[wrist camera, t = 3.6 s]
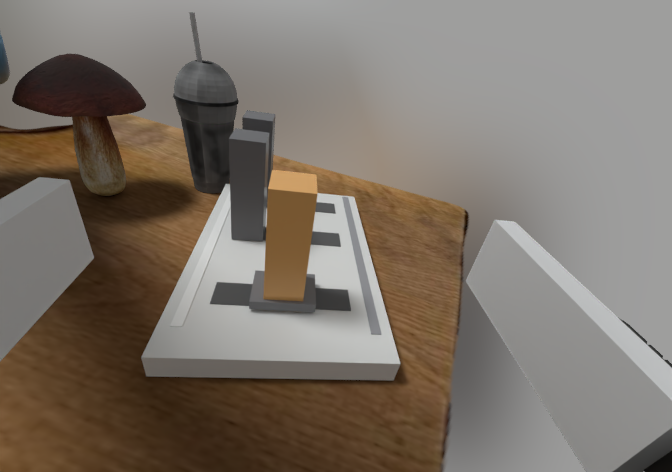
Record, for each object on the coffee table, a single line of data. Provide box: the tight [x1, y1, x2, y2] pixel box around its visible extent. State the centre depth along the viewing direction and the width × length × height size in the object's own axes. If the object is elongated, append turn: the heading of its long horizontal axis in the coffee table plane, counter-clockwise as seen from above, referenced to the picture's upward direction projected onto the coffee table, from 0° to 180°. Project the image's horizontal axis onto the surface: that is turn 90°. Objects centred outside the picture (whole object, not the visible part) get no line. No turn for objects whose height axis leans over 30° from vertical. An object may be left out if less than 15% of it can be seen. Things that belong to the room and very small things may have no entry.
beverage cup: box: [173, 12, 238, 193], centre depth 40 cm, size 7×7×20 cm
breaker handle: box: [249, 170, 318, 312], centre depth 24 cm, size 5×4×10 cm
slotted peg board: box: [141, 110, 400, 381], centre depth 30 cm, size 17×26×12 cm, turn 5°
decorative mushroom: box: [12, 54, 146, 196], centre depth 35 cm, size 11×11×15 cm
